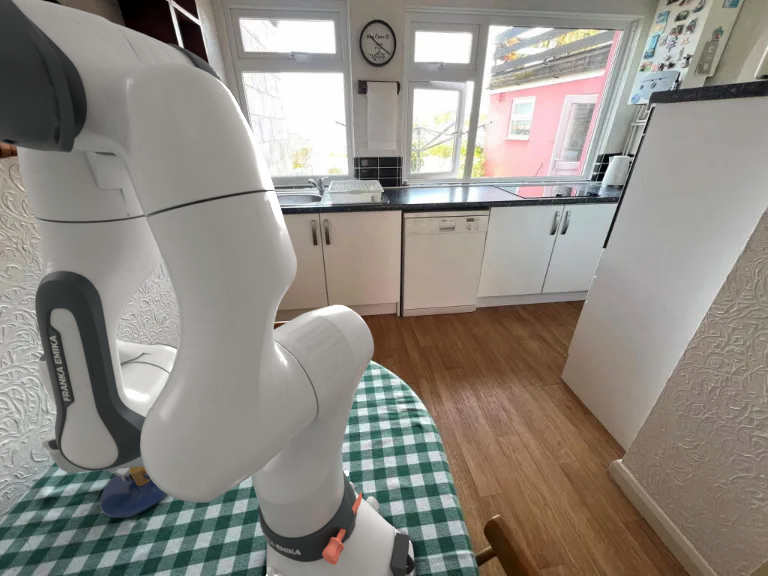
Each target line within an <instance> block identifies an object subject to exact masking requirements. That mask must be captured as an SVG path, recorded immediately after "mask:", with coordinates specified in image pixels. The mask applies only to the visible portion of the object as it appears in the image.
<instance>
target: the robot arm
mask: <svg viewBox="0 0 768 576" xmlns="http://www.w3.org/2000/svg"><path fill="white" fill-rule="evenodd" d="M0 144H4V145H9V146H13V147H16V153H17V159H18V165H19V169H20V174H21V179H22V182H23V185H24V189H25V192H26V196H27V200H28V202H29V205H30V208H31V211H32V213H33V216H34V219H35V222H36V225H37V227H38V232H39V236H40V240H41V249H42V271H41V277H40V281H39V283H38V285H37V286H38V287H37V289H36V292H35V297H34V309H35V317H36V323H37V327H38V333H39V337H40V341H41V346H42V350H43V353H42V354H41V356H40V357H39V359H38V362H37V368H38V369H37V370H38V373H39V377H40V379H41V382H42V385H43V387H44V389H45V390H46V393H47V394H48V396H49V398H50V399H51V401H52V402H53V404H54V406H55V408H56V409H55V410H56V414H55V415H56V416H55V423H54V428H53V430H51V431H50V433H49V434H47V435H46V437H45V438H44V439H43V440H42V441H41V445H42V446H43V448H44V449H45V450H46V451H49V455H50V456H51V458H52V460H53V462H54V463H55V464H56V466H57V467H58V468H59V469H60V470H61V471H63V472H66V473H69V474H76V473H86V472H96V471H97V472H98V471H109V472H110V473H112V474H114V475H115V474H116V475H118V476H121V478H122V480H123V481H124V482H127V481H133V478H132V476H131V474H130V473H129V470H130V468H132V467H143V466H144V467H145V470H146V471H145V472H144V474H143V475H144V477H145V479H146V480H147V479H151V480H152V481H153V483H154V484H155V485H156V486H157V487H158V488H159V489H161V490H162V491H163V492H165V493H166V494H168V495H167V496H170V497H172V498H174V499H177V500H180V501H183V502H188V503H195V504H202V503H203V504H205V503H211V502H213V501H214V500H216V499H217V498H219V497H221V496H222V495H224V494H225V493H227V492H229V491H230V490H232V489H234V488H235V487H236V486H238V485H240V484H242V483H243V482H244V481H246V480H248V479H249V478H251V482H252V486H253V489H254V492H255V496H256V499H257V502H258V507H257V508H258V509H257V510H258V522H259V526H260V530H261V532H262V535H263V536H264V538H265V541H266V575H265V576H415V568H416V563H415V554H414V553H415V552H414V548H413V543H412V542H411V540H410V535H409V534H405V533H401V532H400V530H398V529H397V528H395V527H394V526H393V525H392V524H391V523H389V522H388V521H387V519H385V518H384V517H383V516H382V515H381V514H380V513H379V512H378V511H379V509H380V508H381V507H380V506H381V505H380V502H379V501H378V500H377V499H376V498H375V497H374V496H372V495H370V496H368V497H367V498H366V499H364V497H363V493H362V492H359V493H358V492H357V491H356V490H355V488H356V485H354V483H353V482H352V481H350V480H349V478H348V476H349V471H348V470H345V471H344V463H343V445H344V439H345V434H346V430H347V428H348V427H347V426H348V422H349V418H350V415H351V411H352V408H353V404H354V402H355V401H354V400H355V397H356V394H357V391H358V388H359V385H360V383H361V382H362V379H363V376H364V374H365V372H366V370H367V369H368V366H369V365H370V363H371V361H372V359H373V356H374V354H375V353H374V352H375V344H374V343H375V342H374V338H373V335H372V332H371V330H370V327H369V326H368V324H367V323H366V321H365V320H364V318H362V317H361V315H360V314H359V313H358V312H356V311H354V310H353V309H351V308H349V307H348V306H345V305H343V304H342V305H341V304H331V305H328V306H324V307H320V308H317V309H313V310H310V311H307V312H304V313H302V314H300V315H298V316H296V317H294V318H293V319H291V320H288V321H287V322H285V323H284V324H281V325H280V326H278V327H276V328H275V329H274V327H275V322H276V316H277V312H278V309H279V306H280V304H281V302H282V300H283V298H284V296H286V294H287V292H288V291H289V289H290V288H291V287H292V285H293V283H294V281H295V279H296V276H297V272H298V259H297V255H296V252H295V248H294V246H293V243H292V239H291V237H290V233H289V231H288V227H287V224H286V221H285V217H284V214H283V211H282V208H281V205H280V202H279V199H278V196H277V193H276V189H275V186H274V183H273V181H272V178H271V175H270V171H269V169H268V166H267V164H266V162H265V160H264V156H263V154H262V152H261V150H260V148H259V146H258V142H257V141H256V138H255V135H254V133H253V132H252V129H251V128H250V125H249V124H248V121H247V119H246V118H245V116H244V114H243V112H242V110H241V108H240V106H239V104H238V102H237V100H236V99H235V97H234V96H233V94H232V92H231V91H230V89H228V87H227V86H226V85H225V83H224V81H223V80H222V78H221V76H220V74H219V73H218V72H217V71H216V69H215V68H214V67H213V66H211V64H209V63H208V62H207V61H205V60H204V59H203V58H201V57H200V56H198V55H197V54H195V53H194V52H191V51H190V50H188V49H186V48H185V47H182V46H180V45H178V44H176V43H165V42H163V41H162V40H158V39H157V38H154V37H151V36H149V35H147V34H145V33H142V32H140V31H136V30H135V29H131V28H129V27H126V26H123V25H121V24H118V23H116V22H112V21H110V20H109V19H107V18H105V17H103V16H101V15H98V14H96V13H95V14H94V13H91V12H88V11H85V10H82V9H78V8H74V7H70V6H66V5H63V4H59V3H55V2H51V1H47V0H0ZM161 258H162V261H163V263H164V266H165V269H166V271H167V275H168V277H169V281H170V283H171V287H172V290H173V291H174V295H175V299H176V304H177V309H178V317H179V330H178V331H179V333H178V342H177V347H176V346H175V345H172V344H167V343H147V344H142V343H137V342H136V343H134V342H129V341H124V340H120V339H118V338H117V337H118V336H117V335H118V327H119V324H120V321H121V319H122V317H123V314H124V312H125V310H126V308H127V307H128V305H129V303H130V302H131V300H132V298H133V297H134V296H135V295H136V293H137V292H138V290H139V289H140V287H142V285H143V284H144V283H145V281H147V279H148V278H149V277H150V276H151V274H152V273H153V272H154V270H155V269H156V267H157V266H158V264H159V262H160V260H161Z"/></svg>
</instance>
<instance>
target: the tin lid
mask: <svg viewBox="0 0 768 576" xmlns="http://www.w3.org/2000/svg"><path fill="white" fill-rule="evenodd" d="M145 471H146V470H145V467H144V466H143V467H132V468H130V470H129V473H130V474H131V476H132V478H133V481H127V482H124V481H123V480H122V478H121V476H118V475H116V474H114V476H112V478H111V479H110V480H109V481H108V482H107V484H106V486H105V487H104V489H103V491H102V492H101V496H100V501H99V506H100V509H101V511H102V513H103V514H104V515H105V516H107V517H109V518H111V519H127V518H131V517H134V516H137V515H139V514H142V513H144V512H146V511H147V510H149V509H151V508H152V507H154V506H156V505H158V504H159V503H160V502H161V501H162V500H164V499H165V498H166V497H167V496H169V495H168V494H166V493H165V492H163V491H162V490H161V489H159V488H158V487H157V486H156V485H155V484H154V483H153V481H152V480H151V479H147V480H146V479H145V477H144V475H143V474H144V472H145Z"/></svg>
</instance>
